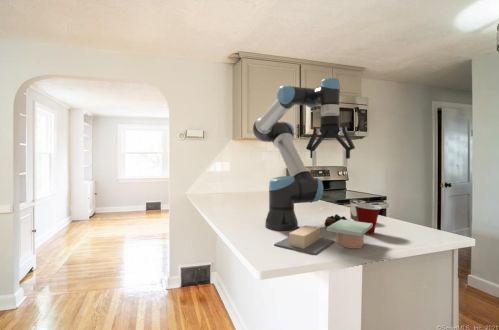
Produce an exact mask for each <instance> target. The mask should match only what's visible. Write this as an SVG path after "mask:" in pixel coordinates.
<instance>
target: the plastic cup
mask: <svg viewBox="0 0 499 330" xmlns="http://www.w3.org/2000/svg"><path fill="white" fill-rule="evenodd" d="M354 205H355V208H356V213H357V220H358V222H364V223H372V224H373V227H372V228H370V229H369V230H368V231H367V232H366V233H364V235H374V234H375V230H376V226H377V222H378V217H379V215H380V214H379V213H380V211H381V210H382V207H381V206H378V205H374V204H369V203H366V204H354Z"/></svg>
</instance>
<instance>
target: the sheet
mask: <svg viewBox="0 0 499 330" xmlns="http://www.w3.org/2000/svg"><path fill="white" fill-rule="evenodd" d="M372 227H373V224H372V223H364V222H357V221H354V220H351V219H350V220H348V219H347V220H342V219H341V220H339V221H337V222H335V223H334V224H332V225H330V226H328V227H327V229H326V231H328V232H333V233H337V232H338V233H344V234H350V235H356V236H362V235H363V234H364V233H366V232H367V231H368V230H369V229H370V228H372ZM364 235H365V234H364Z"/></svg>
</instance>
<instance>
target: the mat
mask: <svg viewBox="0 0 499 330" xmlns="http://www.w3.org/2000/svg"><path fill="white" fill-rule="evenodd" d="M333 243H335V240H334V239H330V238H325V237H321V227H316V226H311V225H304V226H302V227H300V228H299V227H298V228H296V229H294V230H292V231H290V232H289V233H288V237H286V238H284V239H282V240H280V241H277V242H276V243H274V245H273V246H274V247H279V248H282V249H283V248H284V249H288V250H293V251H296V252H301V253H305V254H309V255H315V256H316V255H317V254H319V253H320V252H322V251H324V249H326V248H327V247H329V246H330V245H331V244H333Z"/></svg>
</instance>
